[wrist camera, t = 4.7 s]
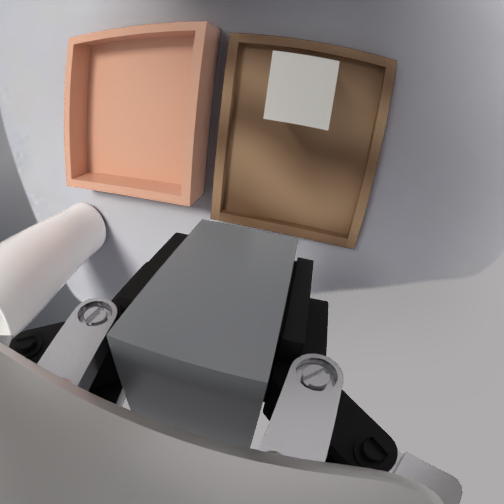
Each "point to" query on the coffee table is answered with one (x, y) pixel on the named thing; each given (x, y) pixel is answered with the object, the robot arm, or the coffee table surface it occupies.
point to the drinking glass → (44, 262)
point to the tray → (299, 144)
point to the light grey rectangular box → (301, 89)
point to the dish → (141, 110)
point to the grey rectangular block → (207, 331)
